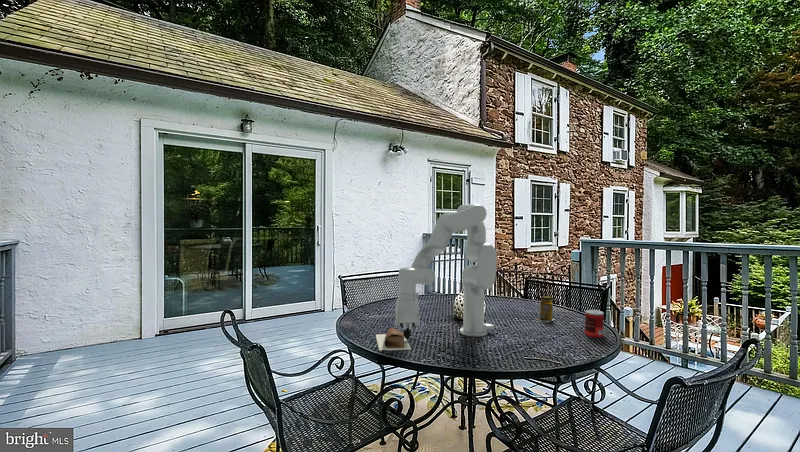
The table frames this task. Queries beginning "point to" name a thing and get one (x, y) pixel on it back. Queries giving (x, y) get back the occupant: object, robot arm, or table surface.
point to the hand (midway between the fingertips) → (407, 338)
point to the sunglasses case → (394, 338)
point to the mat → (382, 346)
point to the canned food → (594, 323)
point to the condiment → (546, 309)
